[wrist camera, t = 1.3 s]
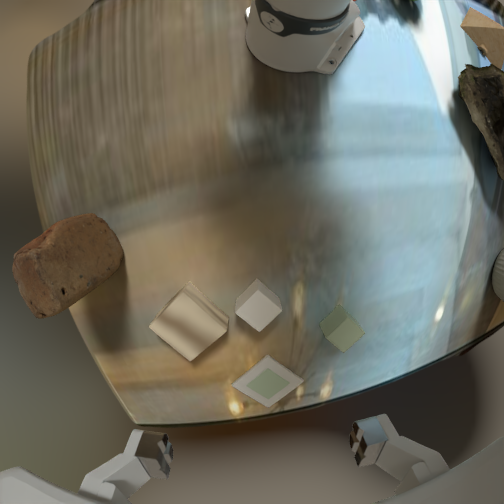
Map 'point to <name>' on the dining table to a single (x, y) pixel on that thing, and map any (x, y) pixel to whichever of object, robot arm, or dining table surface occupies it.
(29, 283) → the block
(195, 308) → the base block
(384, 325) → the dining table surface
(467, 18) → the model pyramid
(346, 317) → the sage cube
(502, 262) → the canister
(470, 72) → the hollow geode rock
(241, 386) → the card
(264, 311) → the offwhite cube
